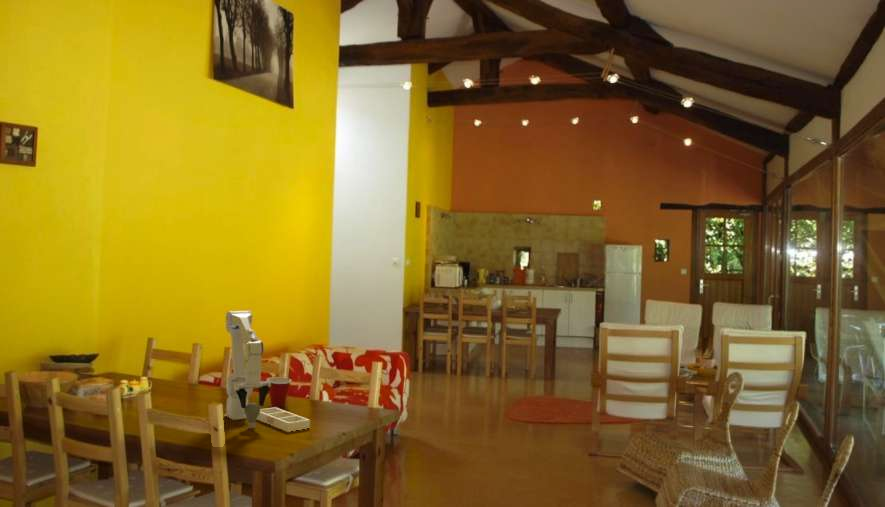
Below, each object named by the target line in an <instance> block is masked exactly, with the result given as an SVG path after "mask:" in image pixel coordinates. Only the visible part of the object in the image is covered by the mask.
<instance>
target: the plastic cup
mask: <svg viewBox="0 0 885 507" xmlns="http://www.w3.org/2000/svg"><path fill="white" fill-rule="evenodd" d="M266 381H270V382H271V387H269V388H270V390H269V392H268V393H269V399H270V404H271V408H273V407H276V408H283V407H285V405H286V401H287V398H288V393H289V392H288V391H289V387H290V385H291V383H292V379H291V378H287V377H280V376H273V377H267V378H266Z"/></svg>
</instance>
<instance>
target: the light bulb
mask: <svg viewBox="0 0 885 507" xmlns="http://www.w3.org/2000/svg"><path fill="white" fill-rule="evenodd" d="M260 409H261V407H260V405H259V403H256V402H248V404H247V405H246V407H245V409H244V412H245V415H246V417H247V418H246V419H247V423H248V429H254V428H256V422H257V417H258V415H259V413H260Z"/></svg>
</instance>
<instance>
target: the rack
mask: <svg viewBox="0 0 885 507" xmlns="http://www.w3.org/2000/svg"><path fill="white" fill-rule="evenodd" d="M256 421H259V422H262V423H265V424H266V423H267V425H269V424H270V426H272V427H274V428H277V429H279V430H281V429H282V431H284V432H286V433H292V432H291V431H293V432H297V431H296V430H299V431H303V430H302V429H305V430H308V429H307V428H310V427H311V426H310V424H311V420H310V419H309V418H306V417H303V416H301V415H298V414H295V413H292V412H290V411H287V410H284V409H281V408H280V407H268V408H260V413H259V415H258V417H257V419H256ZM310 429H311V428H310Z"/></svg>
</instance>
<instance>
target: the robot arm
mask: <svg viewBox="0 0 885 507" xmlns="http://www.w3.org/2000/svg"><path fill="white" fill-rule="evenodd" d="M252 323H253V314H252V312H251V310H235V311H234V310H233V311H232V310H228V311H227V312H226V313H225V329H226V332H227V333H230V338H231V354H232V355H231V356H232V358H231V359H232V373H231V374H229V376H227V379H226V390H225V392H226V395H228V397H227V399H226V407H225V408H226V411H225V413H226V414H223V415H224V417H226V416H227V417H226V418H228V417H229V419H230V420H232V421H237V420H244V419H247V417H246V415H245V412H244V409H245V407H246V405H247V404H249V397H250V395H251V394H252V393H253V391H254V390H253V389H256V388H257V389H258V405H259V407H260V406H261V407H264V404H265V400H266V398H267V396H268V393H269V390H270V388H269V387H271V382H270V381H267V380H265V381H262V380H261V378H262V376H261V374H262V373H261V372H262V356H263V355H264V350H265V347H264V342H263V340H261V339H259V338H258V335H257V333H256V331H255V330H254V329H252V327H251V326H252Z"/></svg>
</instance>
